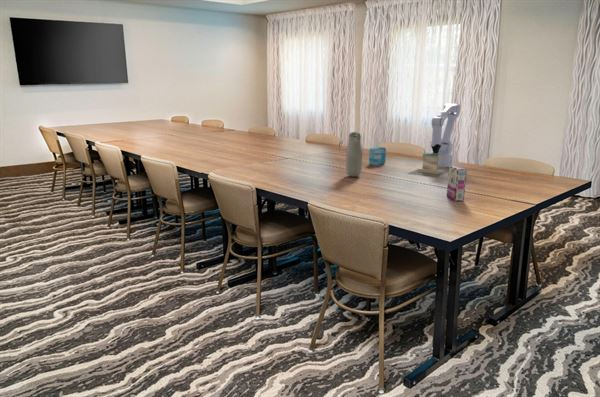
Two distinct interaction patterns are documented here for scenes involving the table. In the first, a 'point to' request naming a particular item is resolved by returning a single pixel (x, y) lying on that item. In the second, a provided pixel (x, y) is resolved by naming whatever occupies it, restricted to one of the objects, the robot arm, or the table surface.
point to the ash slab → (430, 161)
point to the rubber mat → (428, 172)
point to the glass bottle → (354, 155)
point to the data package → (377, 156)
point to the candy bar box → (456, 183)
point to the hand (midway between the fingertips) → (435, 155)
